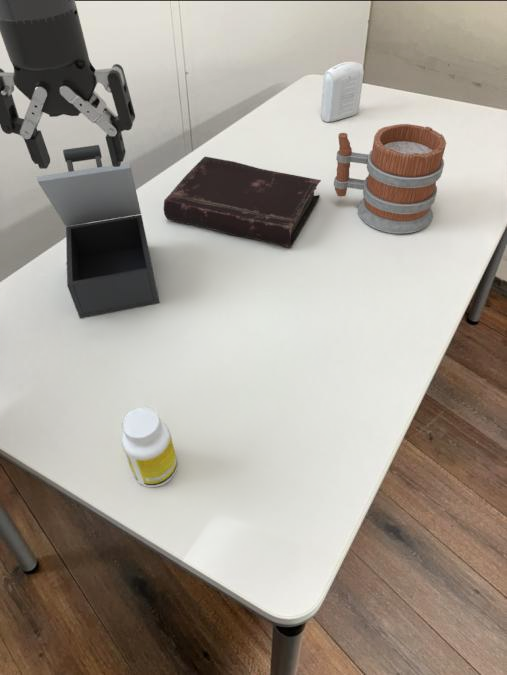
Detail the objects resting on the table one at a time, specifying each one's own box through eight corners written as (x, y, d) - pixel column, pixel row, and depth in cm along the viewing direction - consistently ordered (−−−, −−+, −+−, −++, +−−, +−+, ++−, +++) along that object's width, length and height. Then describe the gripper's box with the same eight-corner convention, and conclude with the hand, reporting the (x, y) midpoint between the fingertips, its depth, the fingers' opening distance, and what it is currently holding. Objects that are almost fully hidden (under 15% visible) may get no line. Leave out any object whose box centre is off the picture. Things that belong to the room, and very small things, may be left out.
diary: (289, 252, 90) (290, 228, 87) (165, 223, 97) (161, 200, 94) (320, 198, 102) (322, 175, 98) (208, 176, 109) (206, 154, 105)
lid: (130, 168, 71) (123, 132, 72) (37, 181, 69) (30, 145, 70) (141, 214, 87) (135, 185, 88) (65, 226, 85) (60, 196, 86)
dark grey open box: (159, 303, 82) (152, 270, 77) (79, 318, 80) (67, 285, 75) (148, 246, 92) (141, 214, 87) (77, 258, 90) (66, 226, 85)
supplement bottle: (186, 460, 63) (176, 414, 55) (159, 496, 59) (144, 452, 52) (152, 441, 64) (137, 394, 57) (123, 475, 61) (104, 430, 54)
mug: (428, 241, 92) (450, 163, 81) (323, 224, 96) (330, 148, 85) (435, 200, 101) (455, 125, 90) (338, 186, 105) (346, 113, 94)
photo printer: (350, 108, 131) (356, 56, 122) (361, 114, 128) (368, 61, 119) (317, 118, 127) (321, 65, 118) (328, 124, 125) (332, 70, 115)
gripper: (-57, 19, 46) (11, 183, 57) (101, 13, 45) (137, 179, 57) (-26, -4, 51) (31, 151, 63) (116, -9, 50) (146, 147, 62)
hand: (81, 164), depth 60 cm, fingers open, 8 cm apart
